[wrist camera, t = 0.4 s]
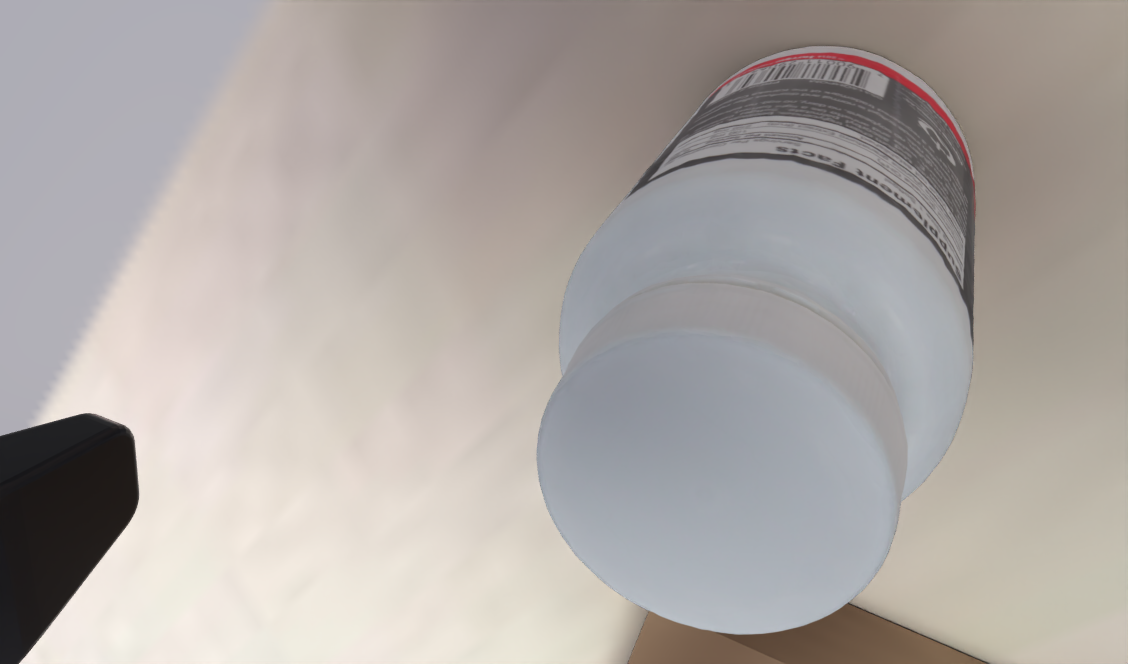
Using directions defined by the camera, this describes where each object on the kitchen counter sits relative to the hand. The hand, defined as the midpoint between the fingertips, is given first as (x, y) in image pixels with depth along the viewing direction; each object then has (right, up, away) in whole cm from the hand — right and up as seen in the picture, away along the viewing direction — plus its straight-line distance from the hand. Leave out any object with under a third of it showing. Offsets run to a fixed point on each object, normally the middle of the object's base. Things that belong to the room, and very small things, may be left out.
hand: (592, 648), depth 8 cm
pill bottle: (+5, +5, +11) cm, 13 cm away
